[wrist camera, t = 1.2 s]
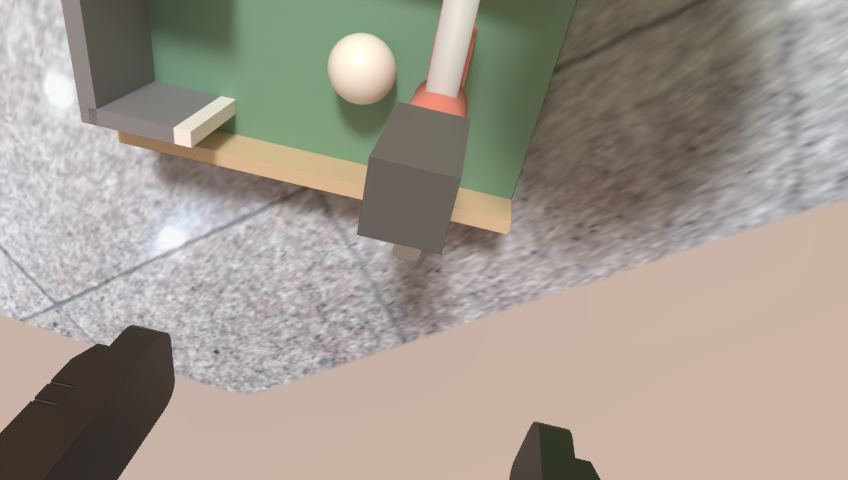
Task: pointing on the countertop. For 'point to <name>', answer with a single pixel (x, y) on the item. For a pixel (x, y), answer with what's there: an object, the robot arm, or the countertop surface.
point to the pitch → (308, 85)
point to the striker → (424, 147)
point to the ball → (361, 68)
